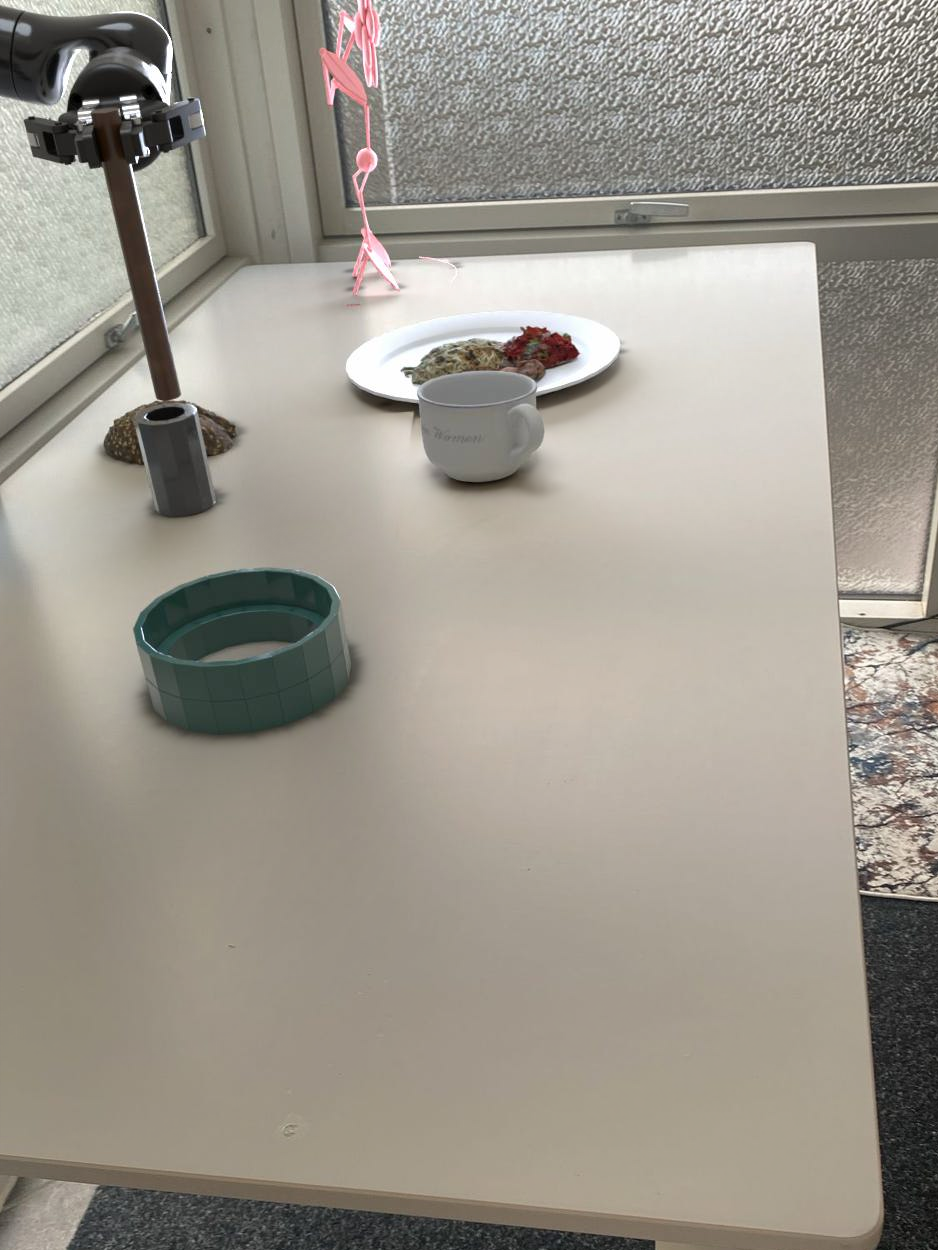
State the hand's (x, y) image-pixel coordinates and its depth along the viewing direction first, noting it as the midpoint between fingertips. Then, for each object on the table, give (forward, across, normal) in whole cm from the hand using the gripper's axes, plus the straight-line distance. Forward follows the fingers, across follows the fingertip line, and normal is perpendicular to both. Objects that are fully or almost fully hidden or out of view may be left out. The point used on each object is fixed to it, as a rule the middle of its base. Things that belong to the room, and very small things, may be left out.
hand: (109, 149), depth 92 cm
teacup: (-12, -26, -32) cm, 43 cm away
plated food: (-42, -31, -32) cm, 61 cm away
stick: (-3, 0, -18) cm, 18 cm away
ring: (+20, -3, -32) cm, 38 cm away
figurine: (-82, -27, -32) cm, 92 cm away
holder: (-14, +2, -32) cm, 35 cm away
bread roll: (-31, +3, -32) cm, 44 cm away
